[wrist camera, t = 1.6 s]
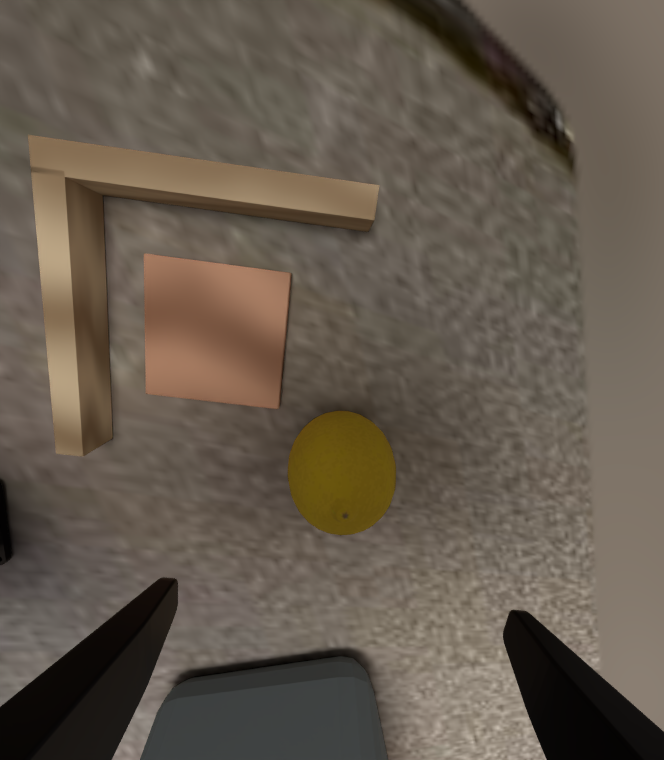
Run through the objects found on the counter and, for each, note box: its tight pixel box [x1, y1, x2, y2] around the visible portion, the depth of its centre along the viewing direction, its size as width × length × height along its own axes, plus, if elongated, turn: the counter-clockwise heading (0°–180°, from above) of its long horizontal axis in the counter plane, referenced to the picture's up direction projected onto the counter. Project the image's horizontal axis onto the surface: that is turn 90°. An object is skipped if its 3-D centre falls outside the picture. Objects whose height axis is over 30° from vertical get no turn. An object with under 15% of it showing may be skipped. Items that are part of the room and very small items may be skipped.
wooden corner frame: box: [28, 135, 379, 456], centre depth 17 cm, size 16×16×2 cm
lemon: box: [288, 411, 396, 535], centre depth 16 cm, size 6×6×8 cm
